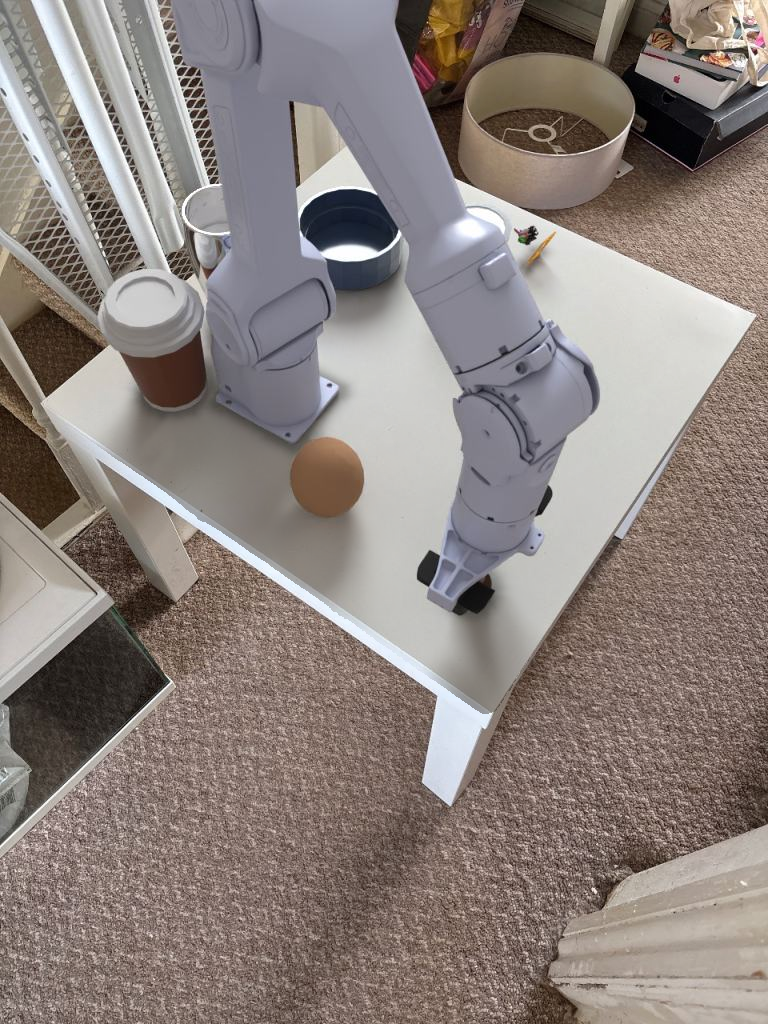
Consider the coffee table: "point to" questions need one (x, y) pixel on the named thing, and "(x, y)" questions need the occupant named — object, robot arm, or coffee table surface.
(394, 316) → the coffee table surface
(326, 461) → the egg
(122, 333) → the coffee cup
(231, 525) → the coffee table surface
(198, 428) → the coffee table surface
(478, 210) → the white cylinder
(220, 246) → the beer glass
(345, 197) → the bowl
